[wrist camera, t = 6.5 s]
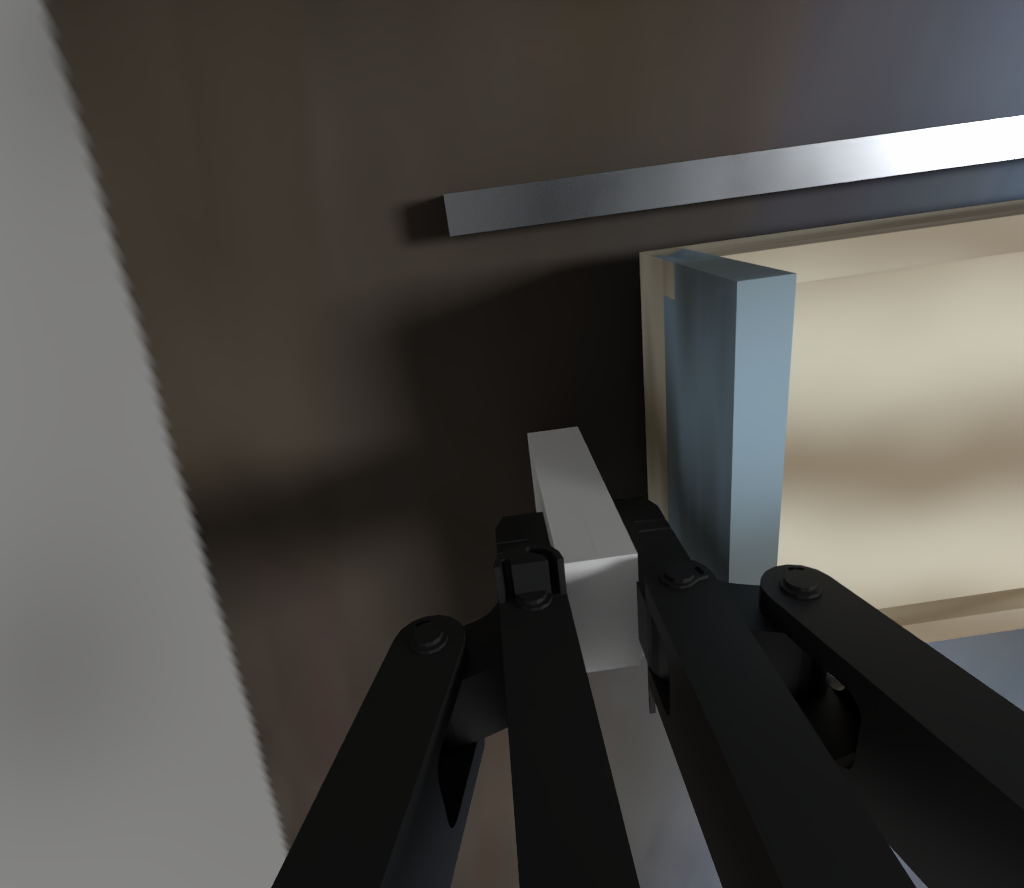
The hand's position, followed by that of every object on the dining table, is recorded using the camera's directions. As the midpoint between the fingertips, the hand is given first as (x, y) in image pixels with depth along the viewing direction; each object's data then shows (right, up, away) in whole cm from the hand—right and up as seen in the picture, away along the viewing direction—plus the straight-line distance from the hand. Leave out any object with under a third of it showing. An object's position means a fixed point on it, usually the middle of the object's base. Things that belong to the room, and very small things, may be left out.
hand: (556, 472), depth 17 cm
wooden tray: (+12, +2, +2) cm, 12 cm away
